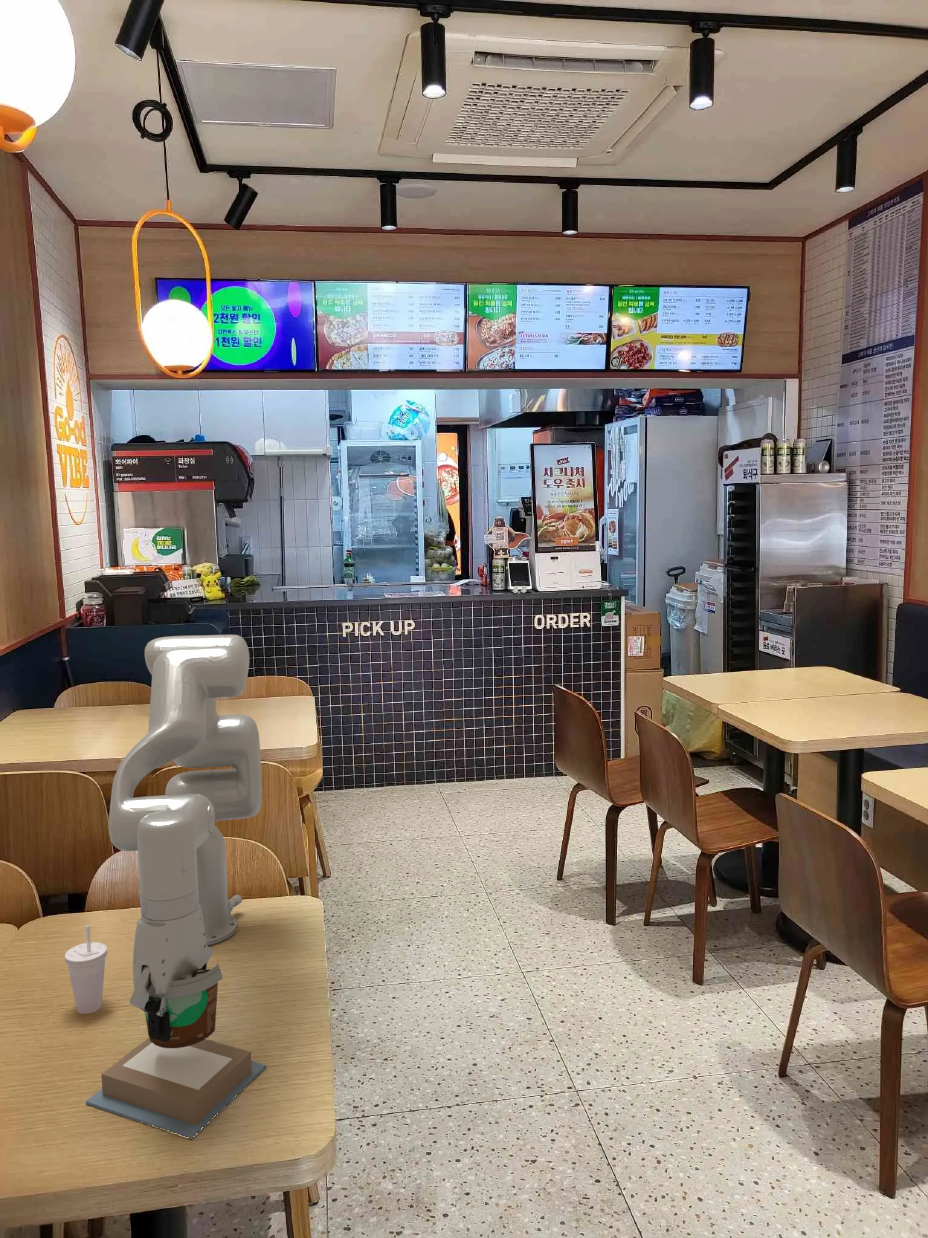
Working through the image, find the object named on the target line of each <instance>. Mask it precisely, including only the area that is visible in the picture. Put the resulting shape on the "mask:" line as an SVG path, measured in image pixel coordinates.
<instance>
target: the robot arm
mask: <svg viewBox="0 0 928 1238" xmlns="http://www.w3.org/2000/svg"><path fill="white" fill-rule="evenodd" d="M144 659H145V660H144V661H145V664H146V668H147V670H148V672H149V673H150V675H151V689H150V703H149V704H150V705H149V719H148V730H147V734H146V735H145V736H143V738H142V739H140V740H139V741H138V742H137V743H136V744H135V745H134V746H133V747H132V748H131V749H130V750H129V752H128V753H127V754H126V755H125V757H124V758H123V759H122V761H121V762H120V765H119V766H118V768H117V770H116V773H115V775H114V777H113V782H112V785H111V786H112V787H111V793H110V794H111V795H110V805H109V806H110V807H109V814H108V834H109V838H110V842H111V843H112V844H113V847H115V848H116V849H118V850H120V851H123V852H137V860H138V880H139V882H138V883H139V899H140V917H141V918H139V919H138V920H137V922H136V927H135V932H134V941H133V953H132V955H133V957H132V959H133V960H132V964H133V965H132V972H133V974H132V977H133V978H132V979H133V987H134V990H133V992H132V995H131V997H130V999H129V1004H130V1005H131V1006H134V1007H136V1008H139V1009H140V1010H142V1011H143V1012H144V1013H145V1012H146V1013H148V1026H149V1036H150V1037H151V1038H153V1039H157V1040H160V1041H164V1042H167V1041H168V1040H169V1039H170V1020H169V1013H168V1012H165V1011H166V1005H167V1000H168V999H167V998H164V994H166V993H167V992H169V991H170V988H171V986H172V984H173V981H178V980H183V979H185V978H186V977H188V976H189V975H190V974H192V973H193V972H194V971H196V970H197V969H207V967H208V966H207V965H208V963H209V961H210V959H211V957H212V955H213V952H214V951H213V949H212V948H211V947H209V946H211V945H215V944H218V943H220V942H223V941H226V940H227V939H229V938H231V937H232V936H233V935H234V934H235V933H236V931H237V929H238V922H237V919H236V918H235V917H234V916H233V915H232V911H233V910H234V908H235V907H237V906H239V905H241V903H242V902H243V898H242V896H241V895H239V894H235V895H233V896H232V897H231V898H229V897H228V878H227V877H228V876H227V875H228V873H227V872H228V871H227V854H226V853H227V851H226V849H227V848H226V842H225V837H224V835H223V834H222V832H221V830H220V829H219V828H218V827H217V826H216V825H215V824H216V822H218V821H229V820H241V819H250V818H252V817H255V816H256V815H257V814H258V813H259V812H260V810H261V808H262V803H263V802H262V801H263V781H262V765H261V764H262V762H261V761H262V760H261V759H262V758H261V743H260V733H259V729H258V726H257V723H256V721H255V719H254V718H253V717H252V716H250V715H247V714H241V713H239V714H218V713H217V698H218V699H220V698H234V697H235V698H236V697H239V696H240V695H242V694H243V692H244V691H245V688H246V686H247V683H248V682H247V681H248V674H249V669H250V650H249V647H248V645H247V641H246V640H245V639H244V638H243V637H242V636H241V635H239V634H208V635H205V634H204V635H198V634H197V635H196V634H195V635H172V636H163V637H157V638H154V639H152V640H150V641H148V642H147V644H146V646H145V647H144ZM171 761H173V762H174V763H175V764H176V765H177V766H179V767H181V768H186V769H199V770H190V771H183V772H181V773H178V774H176V775H174V776H173V777H171V778H170V779H169V780H168V782H167V784H166V787H165V792H164V794H163V795H150V796H148V795H147V796H139V797H138V796H136V797H134V794H135V793H134V792H135V790H136V788H137V786H138V785H139V783H140V782H141V781H142V780H143V779H144V778H145V777H146V776H147V775H148V774H150V773H152V772H153V771H154V770H155V769H157V768H159V767H161V766H163V765H165V764H167V763H170V762H171ZM220 767H222V768H223V767H233V768H223V769H216V768H220ZM205 768H212V769H205ZM213 768H215V769H213ZM201 769H202V770H201ZM203 769H204V770H203ZM228 898H229V899H228ZM151 983H152V985H153V987H154V988H156V993H155V995H158V996H159V1000H158V1004H156V1003H155V1002H153V997H152V996H149V994H148V990H149V988H150V985H151ZM149 1036H148V1037H149Z"/></svg>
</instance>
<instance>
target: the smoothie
mask: <svg viewBox="0 0 928 1238" xmlns="http://www.w3.org/2000/svg"><path fill="white" fill-rule="evenodd" d="M90 930H91V929H90V925H85V935H86V937H85V938H86V942H84V943H80V944H78V945H75V946H73V947H71V948H70V949H68V950H67V951H66V952H65V955H64V963H65V965H67V969H68V973H69V978H70V983H71V988H72V992H73V997H74V1002H75V1006H76V1012H77V1013H78V1014H81V1015H87V1014H93V1013H95V1012H97V1011H99V1010H100V1009H101V1008H102V1006H103V1003H102V1002H103V992H104V991H103V990H104V979H105V969H106V967H105V966H106V957H107V956H108V946H107V945H106V944H105V943H101V942H95V941H92V942H91V931H90Z"/></svg>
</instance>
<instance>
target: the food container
mask: <svg viewBox="0 0 928 1238" xmlns="http://www.w3.org/2000/svg"><path fill="white" fill-rule="evenodd" d="M222 979H223V973H222V969H221V968H220V965H219V963H218V964H216V965H215V966H213V967H212V968H209V969H207V968H206V969H197V970H196V971H194V972H193V973H192V974H190V975H189V976H188V977H186V978H185V979H183V980H178V981H173V984H172V986H171V988H170V991H169V992H167V993H166V994H164V998H167V999H168V1000H167V1005H166V1011H165V1012H168V1013H169V1020H170V1039H169V1040H168V1041H167V1042H164V1041H160V1040H157V1039H153V1038H151V1037H150V1036H149V1026H148V1013H146V1012H144V1015H145V1022H146V1028H147V1036H148V1038H149V1039H150V1041H151V1042H152V1043H153V1044H155V1045H156V1046H159V1047H162V1048H182V1047H187V1046H190V1045H194V1044H196V1043H199V1042H201V1041H203V1040H204V1039H208V1038H209V1037H210V1036H211V1035H212V1034H213V1033H215V1031H216V1020H217V1019H216V1018H217V1006H218V1005H217V1003H218V990H219V989H218V987H219V982H220V981H221V980H222ZM155 993H156V988H154V987H153V985H152V983H151V985H150V988H149V990H148V994H149V996H152V997H153V1002H155V1003H156V1004H158V1000H159V996H158V995H155Z"/></svg>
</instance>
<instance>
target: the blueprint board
mask: <svg viewBox="0 0 928 1238" xmlns="http://www.w3.org/2000/svg"><path fill="white" fill-rule="evenodd" d="M265 1067H266V1068H267V1065H266V1064H263V1063H259V1062H256V1061H252V1051H249V1050H245V1049H242V1048H237V1047H235V1046H231V1045H227V1044H224V1043H220V1042H217V1041H213V1040H210V1039H208V1038H206V1039H204V1040H203V1041H201V1042H199V1043H196V1044H194V1045H190V1046H187V1047H182V1048H162V1047H159V1046H156V1045H155V1044H153V1043H152V1042H151V1041H150V1039H149V1037H148V1038H147V1039H145V1040H144V1041H142V1042H141V1043H140V1044H139V1045H137V1046H136V1047H135V1048H133V1049H132V1050H131V1051H129V1052H128V1053H127V1054H126V1055H124V1056H123V1057H121V1058H120V1059H119V1060H118V1061H116V1062H115V1063H114V1064H112V1065H111V1066H110V1067H109V1068H107V1069H106V1070H105V1071H103V1072H102V1073H101V1075H100V1076H101V1089H99V1090H98V1091H97V1092H96V1093H94V1094H93V1095H92V1096H90V1097H89V1098H88V1099H87V1100H85V1104H86V1105H88V1106H91V1107H93V1108H97V1109H100V1110H103V1111H105V1112H108V1113H112V1114H114V1115H117V1116H121V1117H123V1118H126V1119H127V1120H128V1119H129V1120H131V1119H132V1121H134V1120H135V1122H137V1121H138V1123H140V1122H143V1123H144V1125H146V1124H149V1125H151V1126H150V1127H152V1125H154V1126H155V1127H158V1128H162V1129H165V1130H169V1131H170V1132H173V1133H177V1134H180V1135H182V1136H185V1137H189V1138H191V1139H192V1138H193V1136H195V1135H196V1133H198V1132H199V1131H200V1130H201V1128H202V1127H204V1126H205V1125H207V1123H208V1122H209V1121H211V1119H212V1118H214V1116H215V1115H217V1113H219V1112H220V1111H221V1110H222V1109H223V1108H224V1107H225V1106H226V1107H228V1105H229V1104H230V1103H231V1102H232V1101H233V1100H234V1099H235V1098H236V1097H237V1096H239V1094H238V1093H240V1092H241V1091H242V1090H243V1089H244V1088H245V1087H246V1086H247V1087H248V1086H249V1085H250V1084H251V1083H252V1082H253V1081H254V1080H255V1079H256V1078H257V1077H258V1076H259V1075H260V1074H261V1073H262V1072H263V1071H264V1070H266V1068H265ZM263 1069H264V1070H263ZM262 1070H263V1071H262ZM260 1072H261V1073H260ZM259 1073H260V1074H259ZM257 1075H258V1076H257ZM256 1076H257V1077H256ZM254 1078H255V1079H254ZM252 1080H253V1081H252ZM251 1081H252V1082H251ZM250 1082H251V1083H250ZM248 1084H249V1085H248ZM247 1087H246V1088H247ZM246 1088H245V1089H246ZM243 1091H244V1090H243ZM241 1093H242V1092H241ZM241 1093H240V1094H241ZM236 1095H237V1096H236ZM235 1096H236V1097H235ZM233 1098H234V1099H233ZM232 1099H233V1100H232ZM230 1101H231V1102H230ZM229 1102H230V1103H229ZM227 1104H228V1105H227ZM226 1107H225V1108H226ZM225 1108H224V1109H225ZM224 1109H223V1110H224ZM223 1110H222V1111H223ZM222 1111H221V1112H222ZM221 1112H220V1113H221ZM220 1113H219V1114H220ZM217 1116H218V1115H217ZM214 1119H215V1118H214ZM211 1122H212V1121H211ZM143 1123H142V1124H143ZM149 1125H148V1126H149ZM207 1126H208V1125H207ZM155 1127H154V1128H155ZM158 1128H157V1129H158ZM204 1128H205V1127H204ZM201 1131H202V1130H201ZM201 1131H200V1132H201ZM200 1132H199V1133H200ZM199 1133H198V1134H199ZM196 1136H197V1135H196ZM196 1136H195V1137H196ZM193 1139H194V1138H193ZM193 1139H192V1140H193Z"/></svg>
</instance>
